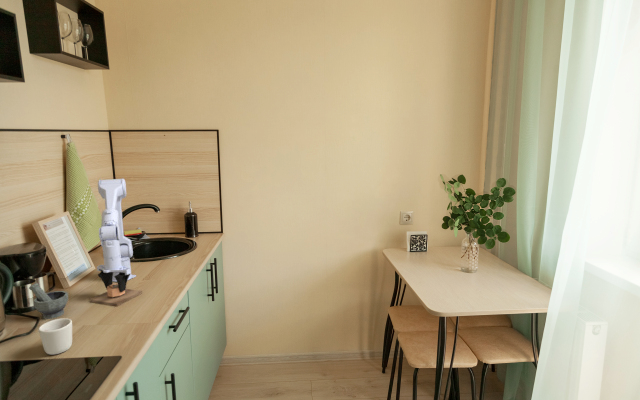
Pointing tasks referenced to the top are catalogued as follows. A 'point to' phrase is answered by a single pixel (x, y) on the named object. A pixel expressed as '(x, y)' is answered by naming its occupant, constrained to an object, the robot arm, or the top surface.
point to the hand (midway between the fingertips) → (116, 290)
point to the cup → (56, 335)
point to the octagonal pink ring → (114, 291)
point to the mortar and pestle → (49, 302)
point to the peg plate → (116, 297)
